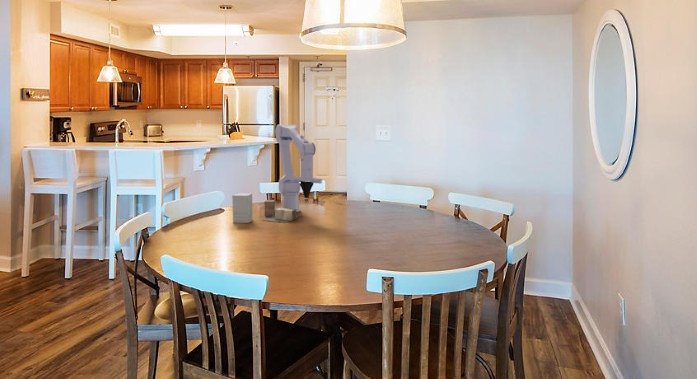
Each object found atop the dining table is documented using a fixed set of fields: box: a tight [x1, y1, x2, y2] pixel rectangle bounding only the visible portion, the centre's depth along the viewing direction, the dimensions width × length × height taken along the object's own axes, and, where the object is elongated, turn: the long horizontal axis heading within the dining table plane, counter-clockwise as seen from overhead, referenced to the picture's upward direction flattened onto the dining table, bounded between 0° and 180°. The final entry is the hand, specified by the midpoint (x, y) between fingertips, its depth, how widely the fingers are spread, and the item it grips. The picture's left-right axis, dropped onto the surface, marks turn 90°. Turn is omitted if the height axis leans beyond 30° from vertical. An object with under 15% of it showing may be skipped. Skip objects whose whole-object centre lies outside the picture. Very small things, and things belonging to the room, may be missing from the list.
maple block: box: [274, 207, 297, 221], centre depth 233 cm, size 4×4×9 cm
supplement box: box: [231, 192, 254, 224], centre depth 226 cm, size 7×7×13 cm
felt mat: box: [262, 215, 299, 224], centre depth 234 cm, size 14×12×1 cm
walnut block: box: [264, 199, 276, 217], centre depth 243 cm, size 4×4×7 cm
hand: (306, 197), depth 232 cm, fingers closed
